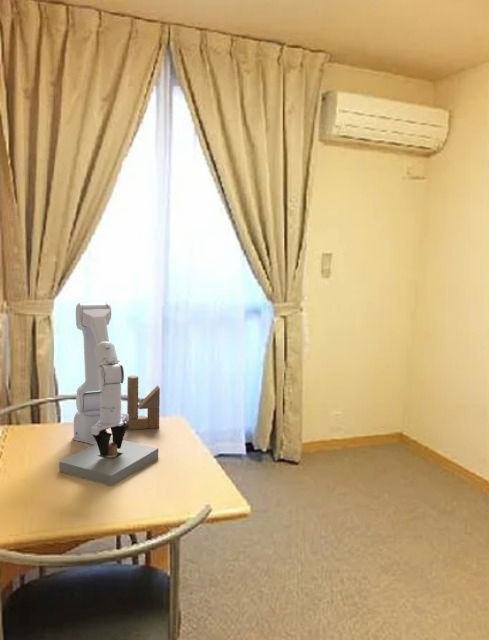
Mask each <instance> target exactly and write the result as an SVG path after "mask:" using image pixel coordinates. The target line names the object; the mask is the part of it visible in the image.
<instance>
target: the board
mask: <svg viewBox="0 0 489 640" xmlns="http://www.w3.org/2000/svg"><path fill="white" fill-rule="evenodd" d="M109 443H113V437H112V436H111V438H110V441H109ZM157 459H159V448H158V447H154V446H151V445H146V444H142V443H141V444H140V443H138V442H132V441H130V440H129V441H128V440H125V439H123V441H122V445H121V448H120V449H118V448H117V457H116V458H114V459H108V458H104V455H100V451H99V448H98V445H97V443H96V444H91V445H90V446H88V447H86V448H84V449H82V450H80V451H78V452H76V453H74V454H72V455H70V456H68V457H65V458H64V459H62V460H60V461H59V464H58V467H59V470H58V471H59V472H60V473H64V474H66V475H69V474H70V475H69V476H74V477H77V478H81V479H85V480H87V481H88V480H89V481H91V482H94V483H98V484H103V485H106V486H109V487H112V486H114V485H116V484H117V483H119V482H122V481H123V480H125V479H126V478H128V477H129V476H131V475H132V474H134V473H136V472H138V471H139V470H141V469H142V468H144V467H146V466H148V465H149V464H151V463H153V462H154V461H155V460H157Z"/></svg>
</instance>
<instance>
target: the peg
mask: <svg viewBox="0 0 489 640" xmlns="http://www.w3.org/2000/svg"><path fill="white" fill-rule="evenodd" d="M116 457H117V444H116V443H109V448H108V455H107V456H104V458H108V459H114V458H116Z"/></svg>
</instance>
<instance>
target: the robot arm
mask: <svg viewBox="0 0 489 640" xmlns="http://www.w3.org/2000/svg"><path fill="white" fill-rule="evenodd" d="M111 319H112V307H111V305H110V304H109V302H108V301H107V302H91V303H90V302H87V303H84V302H82V303H81V302H78V303H77V304H76V307H75V323H76V324H75V325H76V329H77V330H80V331H82V335H83V355H84V377H85V379H84V382H83V383H82V384H81V385H79V386H78V387H77V389H76V399H75V405H76V410H77V412H76V413H75V415H74V417H73V437H71V439H72V440H74V441H78V442H82V443H86V444H91V445H94V444H96V443H97V445H98V448H99V451H100V455H104V456H107V455H108V448H109V441H110V438H111V437H112V438H113V443H116V444H117V448H118V449H120V448H121V445H122V441H123V440H124V437H125V435H126V433H127V431H128V430H127V429H128V427H129V424H127V423H126V421H129V414H127V413H122V384H123V383H124V381H125V370H124V366H123V363H122V362H121V360H119V359H118V356H117V351H116V348H115V345H114V344H113V343H112V342H110V340H109V338H110V337H109V332H108V325H110V321H111ZM109 429H110V431H111V433H110V432H108V431H107V430H109Z"/></svg>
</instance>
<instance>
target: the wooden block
mask: <svg viewBox="0 0 489 640" xmlns="http://www.w3.org/2000/svg"><path fill="white" fill-rule="evenodd" d="M126 391H127V394H126V395H127V402H126V404H127V409H126V410H127V411H126V412H127V413H126V414H129V421H125V423H127V424H129V427H128V429H127V430H126V431H130V430H133V431H134V430H144V429H150V430H151V429H159V428H160V406H161V405H160V401H161V400H160V399H161V398H160V396H161V395H160V393H161V392H160V391H161V389H160V386H159V385H156V386H155V387H154V389H152V390H151V391H150V393H149V394H147V395H146V396H145V397H144V398H143V399H142V400H141V401H140V403H139V376H138V375H128V376H127V390H126ZM144 409H146V410H147V416H145V415H139V410H144Z"/></svg>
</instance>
